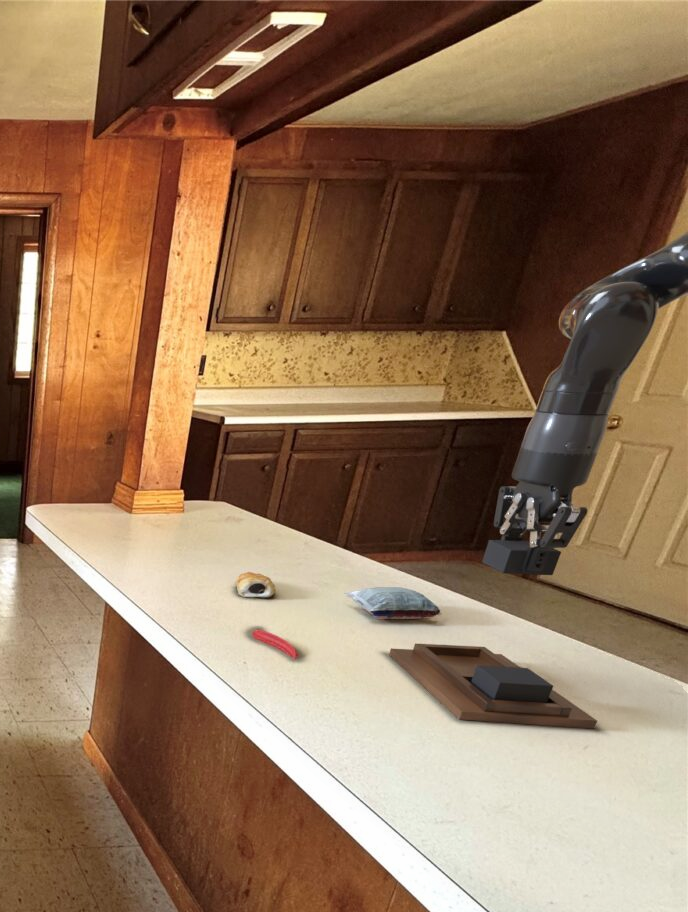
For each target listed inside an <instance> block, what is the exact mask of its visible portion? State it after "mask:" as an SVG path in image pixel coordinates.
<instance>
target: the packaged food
mask: <svg viewBox="0 0 688 912" xmlns="http://www.w3.org/2000/svg"><path fill="white" fill-rule="evenodd" d="M344 595H345V596H346V597H347V598H350V599H351V600H352V601H353V602H354V603H355V604H356V605H358V606H359V607H361V608H362V609H364V610H365V611H367V612H368V613H369V614H370V615H371V616H373V617H374V618H375V619H377V620H415V619H417V620H418V619H419V620H420V619H428V618H434V617H437V616H441V615H442V612H441V610H440V608H439V607H438V606H437V604H435V603H434V602H433V601H432V600H430V598H428V597H427V596H425V595H424V594H422V593H420V592H418V591H416V590H414V589H409V588H406V587H401V586H375V587H367V588H363V589H358V590H354V591H352V592H349V591H347V590H345V591H344Z"/></svg>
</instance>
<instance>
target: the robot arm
mask: <svg viewBox="0 0 688 912" xmlns="http://www.w3.org/2000/svg"><path fill="white" fill-rule="evenodd" d="M685 296H688V231H685V232H684V233H683V234H681V235H680V236H678V237H677V238H675V239H673V240H672V241H670V242H669V243H668V244H666V245H664V246H663V247H661V248H659V249H658V250H655V251H654V252H652V253H650V254H648V255H646V256H644V257H642V258H640V259H638V260H636V261H634V262H632V263H630V264H628V265H626V266H625V267H623V268H620V269H619V270H616V271H615V272H613V273H611V274H609V275H607V276H606V277H604V278H601V279H600V280H598V281H596V282H595V283H593V284H591V285H589V286H588V287H586V288H584V289H583V290H582V291H579V293H577V294H576V295H575V296H573V297H572V298H571V299H570V300H569V301H568V303H566V305H565V306H564V307H563V309H562V311H561V312H560V315H559V318H558V329H559V331H560V332H561V334H562V335H563V336H564V337H565V338H567V339H568V340H570V342H569V344H568V346H567V349H566V351H565V353H564V356H563V357H562V358H563V359H562V361H561V363H560V364H559V366H557V367H555V368H554V369H553V370H552V371H550V373H549V374H548V376H547V377H546V380H545V382H544V384H543V387H542V391H541V392H540V395H539V399H538V402H537V405H536V408H535V411H534V413H533V416H532V418H531V420H530V422H529V423H528V426H527V427H526V430H525V433H524V437H523V439H522V442H521V445H520V448H519V451H518V455H517V458H516V461H515V463H514V465H513V469H512V472H511V478H512V479H513V480H515V481H517V482H518V483H517V485H516V486H510V485H509V486H500V488H499V489H498V495H497V502H496V508H495V514H494V520H493V526H494V528H499V533H500V535H501V538H500V540H510V541H523V539H524V534H525V533H526V532H527V531H528V532H530V534H529V541H530V543H529V545H530V547H528V548H527V551H526V554H525V557H524V560H523V563H522V565H521V568H520V570H521V571H522V572H524V573H527V574H526V575H532V574H539V573H541V572H542V570H543V568H544V566H545V563H546V560H547V558H548V555H549V552H550V550H551V549H553V548H554V549H565V548H567V547H568V545H569V544H570V542H571V540H572V539H573V537H574V535H576V532H577V530H578V529H579V527H580V525H581V524H582V522H583V521H584V519H585V518H586V515H587V514H588V508H587V507H586V506H576V505H574V504H573V503H572V502H573V491H574V489H575V488H577V487H580V486H584V485H585V484H586V483H587V482H588V480H589V477H590V474H591V472H592V469H593V466H594V463H595V461H596V458H597V456H598V454H599V450H600V447H601V445H602V442H603V440H604V437H605V435H606V431H607V427H608V421H609V416H610V413H611V410H612V408H613V405H614V403H615V401H616V400H615V399H616V398H617V394H618V392H619V389H620V386H621V383H622V380H623V378H624V375H625V374H626V372H627V371H628V369H629V368H630V367H631V365H632V364H633V363H634V361H635V359H636V357H637V356H638V354H639V353H640V351H641V349H642V347H643V346H644V344H645V343H646V341H647V339H648V337H649V335H650V334H651V332H652V330H653V327H654V326H655V323H656V320H657V316H658V313H659V309H661V308H663V307H665V306H667V305H669V304H670V303H672V302H674V301H676V300H678V299H680V298H683V297H685ZM542 532H544V534H543V536H542ZM559 534H561V535H560V536H559V538H558V535H559ZM541 536H542V537H541Z"/></svg>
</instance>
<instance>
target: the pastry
mask: <svg viewBox="0 0 688 912" xmlns="http://www.w3.org/2000/svg"><path fill="white" fill-rule="evenodd" d="M235 586H236V587H237V589H236V591H237V594H238V595H239V596H241V597H243V598H271V597H272V596H273V595H274V594H275V592H276V585H275V584H274V582H273V581H272V580H271V578H270V577H269V576H266V575H264V574H261V573H255V572H251V571H248V572H243V573H241V574H239V576H238V577H237V579H236V580H235Z"/></svg>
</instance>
